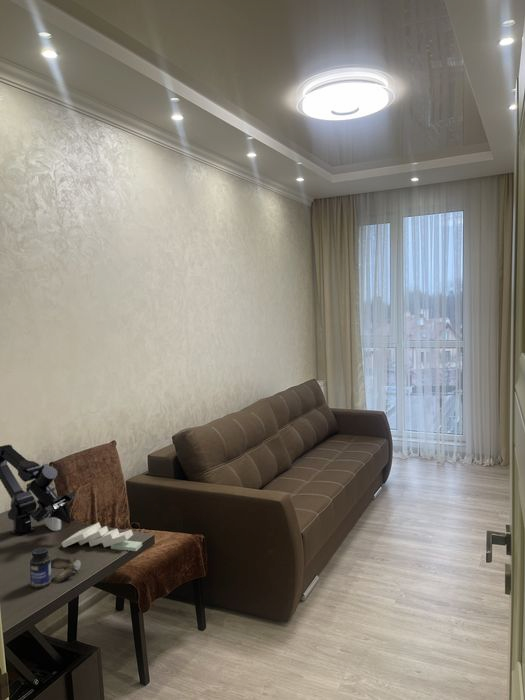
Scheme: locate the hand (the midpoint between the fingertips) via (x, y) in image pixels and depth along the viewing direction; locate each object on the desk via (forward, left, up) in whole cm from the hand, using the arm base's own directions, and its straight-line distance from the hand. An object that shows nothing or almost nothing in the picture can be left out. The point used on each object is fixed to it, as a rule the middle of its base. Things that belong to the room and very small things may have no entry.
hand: (70, 523), depth 201 cm
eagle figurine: (+20, -20, -7) cm, 29 cm away
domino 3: (+9, +3, -6) cm, 11 cm away
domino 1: (0, 0, -6) cm, 6 cm away
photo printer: (-17, +7, -7) cm, 20 cm away
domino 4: (+15, +4, -6) cm, 16 cm away
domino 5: (+18, +5, -7) cm, 20 cm away
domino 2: (+5, +1, -6) cm, 8 cm away
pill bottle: (+17, -27, -7) cm, 33 cm away
